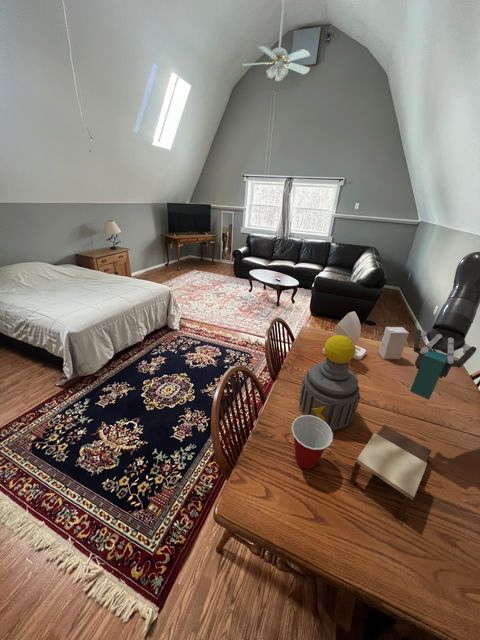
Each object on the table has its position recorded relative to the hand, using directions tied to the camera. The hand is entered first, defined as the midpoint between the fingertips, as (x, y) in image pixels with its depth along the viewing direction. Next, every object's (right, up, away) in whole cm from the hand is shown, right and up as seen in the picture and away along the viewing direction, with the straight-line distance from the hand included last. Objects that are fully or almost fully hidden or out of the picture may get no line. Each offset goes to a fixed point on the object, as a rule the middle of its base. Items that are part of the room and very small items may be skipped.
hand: (429, 372), depth 70 cm
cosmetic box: (+23, -4, +60) cm, 64 cm away
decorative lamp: (-19, -19, +25) cm, 37 cm away
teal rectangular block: (+1, -6, +4) cm, 8 cm away
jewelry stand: (0, -3, +60) cm, 60 cm away
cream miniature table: (-7, -28, +5) cm, 30 cm away
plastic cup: (-31, -27, +6) cm, 41 cm away
